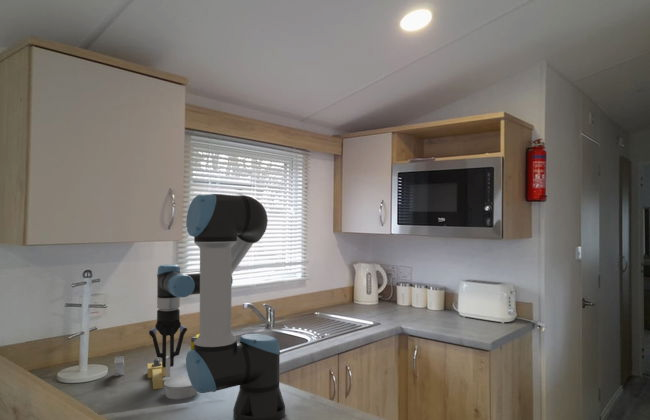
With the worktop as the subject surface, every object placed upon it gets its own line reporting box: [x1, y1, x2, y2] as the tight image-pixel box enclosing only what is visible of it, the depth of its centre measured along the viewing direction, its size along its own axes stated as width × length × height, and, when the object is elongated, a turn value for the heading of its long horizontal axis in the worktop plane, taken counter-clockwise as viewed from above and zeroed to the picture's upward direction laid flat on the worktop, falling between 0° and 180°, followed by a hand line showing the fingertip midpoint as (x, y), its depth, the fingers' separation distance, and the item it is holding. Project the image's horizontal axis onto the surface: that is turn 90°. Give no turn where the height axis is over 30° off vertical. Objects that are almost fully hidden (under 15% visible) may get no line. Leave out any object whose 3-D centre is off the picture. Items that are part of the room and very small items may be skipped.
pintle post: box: [153, 358, 161, 367], centre depth 166 cm, size 2×2×6 cm
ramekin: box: [163, 374, 198, 400], centre depth 148 cm, size 11×11×5 cm
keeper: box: [113, 355, 125, 377], centre depth 163 cm, size 8×3×7 cm, turn 22°
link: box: [147, 361, 166, 390], centre depth 161 cm, size 18×6×3 cm, turn 22°
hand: (167, 376), depth 161 cm, fingers closed
